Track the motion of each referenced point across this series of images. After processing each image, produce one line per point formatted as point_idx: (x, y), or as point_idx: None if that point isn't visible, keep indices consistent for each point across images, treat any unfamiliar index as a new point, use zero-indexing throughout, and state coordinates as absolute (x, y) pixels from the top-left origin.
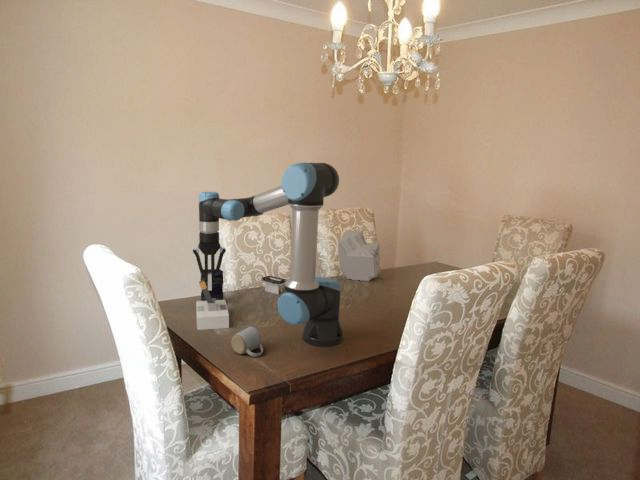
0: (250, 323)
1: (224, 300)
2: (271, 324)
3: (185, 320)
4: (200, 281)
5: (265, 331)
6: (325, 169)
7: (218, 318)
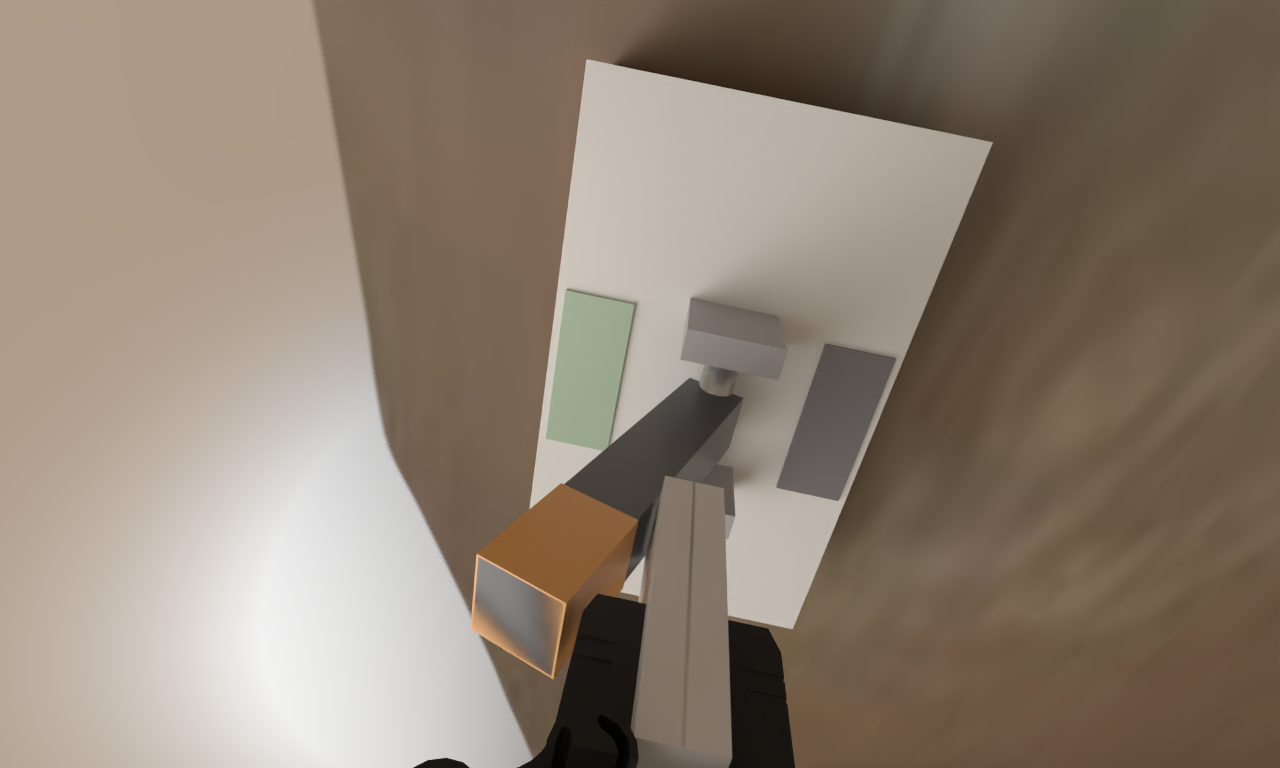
0: (979, 535)
1: (966, 172)
2: (1117, 609)
3: (480, 268)
4: (501, 580)
5: (988, 686)
6: None
7: None
